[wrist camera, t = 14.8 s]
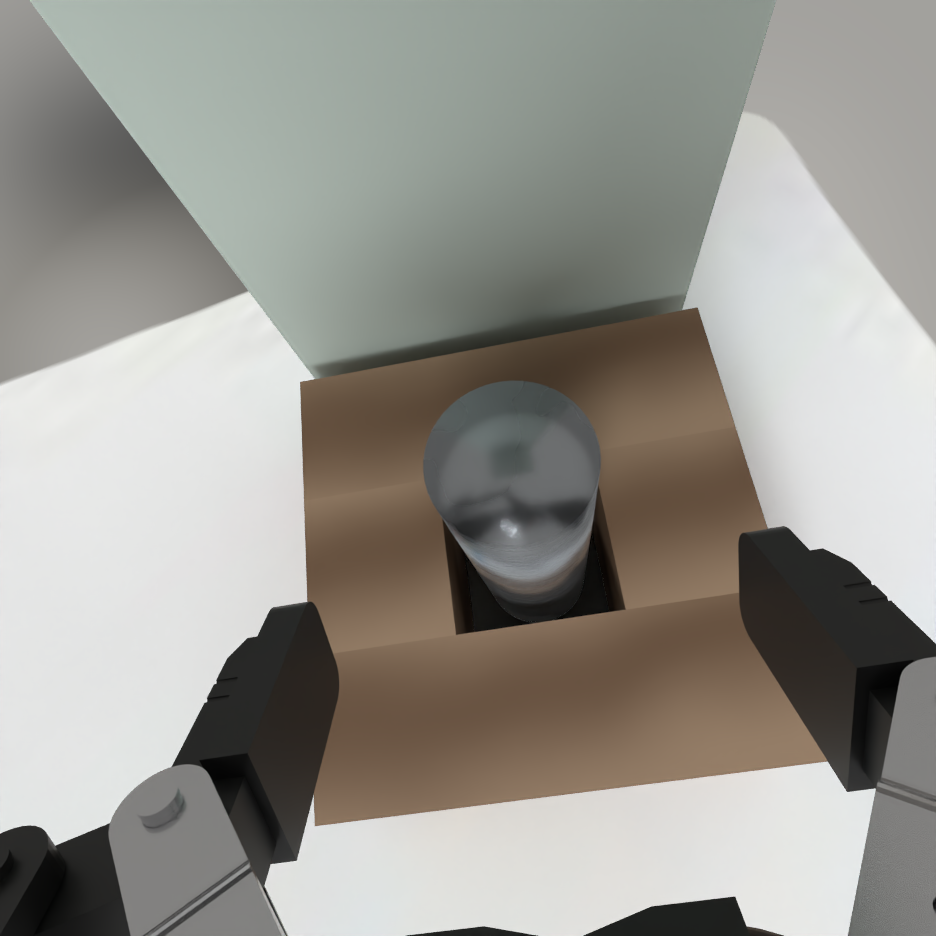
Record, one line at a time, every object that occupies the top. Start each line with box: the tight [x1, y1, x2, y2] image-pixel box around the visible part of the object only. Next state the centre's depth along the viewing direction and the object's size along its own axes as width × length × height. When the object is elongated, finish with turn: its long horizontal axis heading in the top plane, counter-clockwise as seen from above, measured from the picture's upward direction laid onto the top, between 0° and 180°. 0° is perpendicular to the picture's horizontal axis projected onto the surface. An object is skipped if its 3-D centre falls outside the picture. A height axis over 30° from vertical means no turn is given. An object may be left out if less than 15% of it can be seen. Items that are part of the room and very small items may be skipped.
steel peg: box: [423, 381, 601, 623], centre depth 18 cm, size 4×4×12 cm
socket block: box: [300, 308, 827, 826], centre depth 22 cm, size 14×14×5 cm
